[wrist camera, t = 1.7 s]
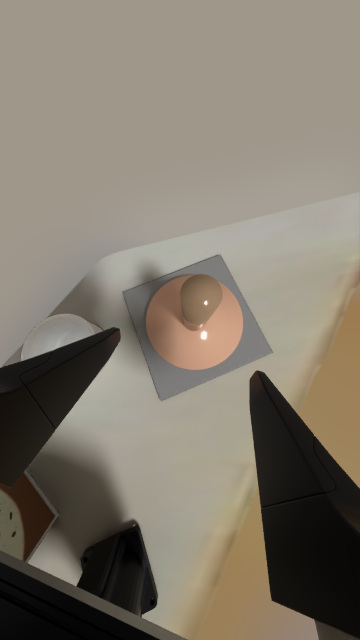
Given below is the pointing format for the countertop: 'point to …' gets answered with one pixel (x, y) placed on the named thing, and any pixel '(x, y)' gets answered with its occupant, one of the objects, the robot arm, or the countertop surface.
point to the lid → (194, 322)
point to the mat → (179, 379)
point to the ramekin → (56, 334)
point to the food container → (24, 517)
